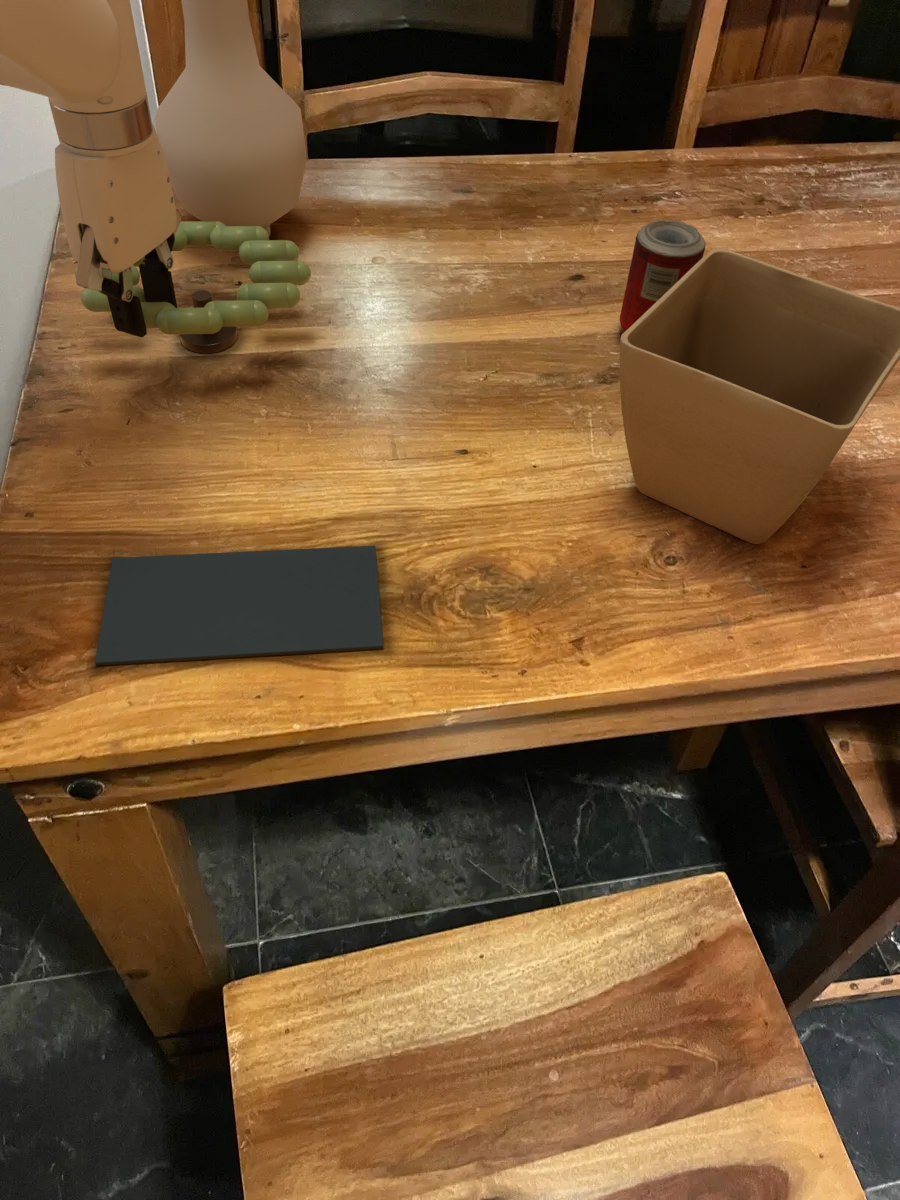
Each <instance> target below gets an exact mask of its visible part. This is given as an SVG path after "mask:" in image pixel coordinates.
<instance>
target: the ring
mask: <svg viewBox="0 0 900 1200" xmlns="http://www.w3.org/2000/svg"><path fill="white" fill-rule="evenodd" d="M174 236H175V242H174V245H173V248H172V252H180V251H183V250H185V248H187V247H188V246H189V247H191V246H193V247H194V246H195V247H198V246H199V247H200V246H212V247H213V248H214V249H216V250H218V251H221V252H222V251H238V255H239V258H240V260H241V261H242V262H243V263H244V264H246V265H249V266H250V267H249V271H248V275H249V278H250V280H251V282H247V283H243V284H241V285H240V286H239V287H238V289H237V291H236V300H213V301H211V302H209V303H207V304H206V305H205V306H204V308H194V307H177V308H175V307H174V306H173V305H172V304H170V303H168V302H146V299H145V295H144V290H143V287H141V286H139V283H140V281H141V276H140V272H139V265H140V264H145V263H144V262H143V261H142V259H140V260H138V261H137V262H136V263H134V264H133V265H132V266H131V267H132V280H133V295H134V296H137V297H139V299H140V302H141V307H142V311H143V316H144V320H145V325H146V329H147V330H149V329H150V330H151V329H158V330H159V331H160V332H161V333H162V334H166V335H170V336H174V335H177V336H178V335H179V334H213V333H216V332H218V331H219V330H220V329H221V328H222V327H236V328H237V327H238V328H239V327H259V326H262V325H264V324H265V323H267V320H268V318H269V309H292V308H294V307H296V306H297V305H298V304H299V302H300V300H301V292H300V289H299V288H298V287H297V286H303V285H306V284H307V283H308V282H309V281H310V279H311V275H312V273H311V271H312V270H311V268H310V266H309V265H308V264H307V263H306V262H305V261H302V260H299V259H298V258H299V256H300V251H299V247H298V245H297V244H296V243H295V242H293V241H292V240H288V239H270V236H269V235H268V233H267V231H266V230H265V229H264V228H262V227H260V226H226V225H225V224H223V223H222V222H219V221H202V220H200V221H197V220H196V221H194V220H193V221H181V222H180V224H179V227H178V229H177V232H176V234H175V235H174ZM77 270H78V267H77V268H76V269H75V272H74V278H75V279H76V277H77ZM112 280H114V281H115V282H117V283H119V274H118V273H113V272H112ZM82 288H84V287H82ZM80 295H81V296H80V300H81V304H82V305H83V307H84V308H85V310H88V311H89V312H92V313H110V319H111V321H112V323H113V324H114V322H113V318H112V314H111V310H110V306H109V302H108V298H107V296H106V295H103V294H101V293H100V292H99V291H96V290H91V289H88V288H84V289H83V290H82V292H81V294H80Z"/></svg>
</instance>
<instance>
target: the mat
mask: <svg viewBox="0 0 900 1200" xmlns="http://www.w3.org/2000/svg"><path fill="white" fill-rule="evenodd" d="M111 559H112V560H111V566H110V572H109V578H108V582H107V589H106V594H105V602H104V606H103V613H102V619H101V623H100V629H99V635H98V641H97V646H96V652H95V659H94V665H95V666H96V667H97V666H113V665H128V664H129V665H130V664H133V665H134V664H146V663H147V664H149V663H164V662H181V661H183V662H184V661H198V660H199V661H200V660H214V659H216V660H217V659H231V658H249V657H267V656H281V655H282V656H283V655H284V656H285V655H299V654H300V655H301V654H316V653H317V654H318V653H333V652H335V653H336V652H351V651H368V650H383V649H384V638H383V637H384V636H383V626H382V613H381V612H382V611H381V599H380V586H379V585H380V584H379V573H378V562H377V561H378V560H377V547H376V545H356V546H355V545H354V546H338V547H337V546H336V547H315V548H314V547H313V548H292V549H274V550H273V549H272V550H253V551H230V552H209V553H189V554H187V553H186V554H169V555H168V554H167V555H165V554H164V555H147V556H144V555H143V556H128V557H127V556H126V557H112V558H111Z"/></svg>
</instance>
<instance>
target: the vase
mask: <svg viewBox="0 0 900 1200" xmlns="http://www.w3.org/2000/svg"><path fill="white" fill-rule="evenodd" d="M180 1H181V8H182V15H183V21H184V50H185V51H184V53H185V67H184V69H183V71H182V72H181V74H180V75H179V77H178V78H177V79H176V81H175V83H174V84H173V86H172V87H171V88H170V90H169V91H168V92H167V94H166V95H165V97H164V99H163V100H162V101H161V103H160V104H159V106H158V107H157V110H156V114H155V118H154V121H155V130H156V133H157V136H158V138H159V141H160V144H161V147H162V151H163V154H164V157H165V161H166V164H167V168H168V172H169V176H170V181H171V185H172V190H173V193H175V195H176V198H177V200H178V202H179V204H180V205H181V207H182V208H183V209H184V211H185V212H186V213H187V214H189V215H191V216H193V217H194V218H195V219H198V220H200V221H219V222H222V223H223V224H225V225H226V226H260V227H262V228H264V229H265V230H266V231H267V233H268V235H269V237H270V236H271V225H272V224H274V222H276V221H278V220H279V219H280V218H281V217H283V216H285V215H286V214H288V213H289V212H290V211H292V210H293V208H294V207H295V206H296V205H297V203H298V202H299V199H300V195H301V190H302V185H303V180H304V177H305V176H304V175H305V171H306V167H307V145H306V137H305V131H304V130H305V129H304V124H303V118H302V117H303V116H302V109H301V108H300V106H299V105H298V104H297V103H296V102H295V100H294V99H293V98H292V97H291V96H290V95H289V94H288V93H287V92H286V91H285V90H284V89H283V88H282V87H281V86H280V85H279V84H278V83H277V82H276V81H275V80H274V79H273V78H272V77H271V76H270V75H269V73H267V72H266V70H265V69H264V68H262V66H260V59H259V56H258V52H257V46H256V43H255V39H254V34H253V29H252V26H251V25H252V24H251V20H250V14H249V13H250V12H249V4H248V0H180Z"/></svg>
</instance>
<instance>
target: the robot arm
mask: <svg viewBox="0 0 900 1200" xmlns="http://www.w3.org/2000/svg"><path fill="white" fill-rule="evenodd" d="M145 82H146V81H145V77H144V71H143V65H142V60H141V54H140V49H139V42H138V38H137V32H136V27H135V21H134V16H133V9H132V6H131V0H0V86H5V87H11V88H14V89H18V90H22V91H25V92H29V93H32V94H37V95H41V96H44V97H46V98H47V99H48V103H49V107H50V111H51V114H52V115H51V116H52V119H53V122H54V127H55V130H56V133H57V138H58V141H59V144H58V145H57V146H56V147H54V168H55V180H56V188H57V194H58V202H59V207H60V211H61V217H62V221H63V226H64V231H65V235H66V241H67V243H68V248H69V251H70V255H71V258H72V259H73V261H74V262H75V263H77V268H78V270H77V277H76V278H75V283H76V286H78V287H81V288H83V287H84V289H85V288H88V289H91V290H96V291H99V292H100V293H101V294H103V295H106V296H107V298H108V302H109V306H110V310H111V312H110V315H111V314H112V318H113V321H112V323H113V322H114V323H113V325H114V328H115V329H116V330H117V331H118V332H122V333H125V334H127V335H128V334H129V335H131V336H135V337H138V338H144V337H145V336H146V335H147V333H148V331H147V330H148V329H146V325H145V320H144V316H143V311H142V307H141V302H140V299H139V297H137V296H134V295H133V280H132V267H131V266H132V265H133V264H134V263H136V262H137V261H138V260H140V259H142V261H143V262H144V263H145V264H140V265H139V267H138V271H139V274H140V281H141V284H142V285H141V286H142V289H143V290H144V295H145V299H146V302H168V303H170V304H172V305H173V306H174V307H175V308H178V302H177V297H176V292H175V286H174V281H173V276H172V271H170V270H172V269H173V266H174V257H173V254H172V252H173V251H172V248H173V245H174V242H175V236H174V235H175V234H176V232H177V229H178V227H179V224H180V222H182V214H181V212H180V211H179V210H178V209H177V207H176V201H175V196H174V189H173V187H172V185H171V181H170V176H169V172H168V168H167V164H166V161H165V157H164V154H163V151H162V147H161V144H160V141H159V138H158V136H157V131H156V127H155V125H154V124H153V120H152V115H151V109H150V103H149V98H148V93H147V86H146V83H145ZM112 272H113V273H118V274H119V283H117V282H115V281H114V280H112Z"/></svg>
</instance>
